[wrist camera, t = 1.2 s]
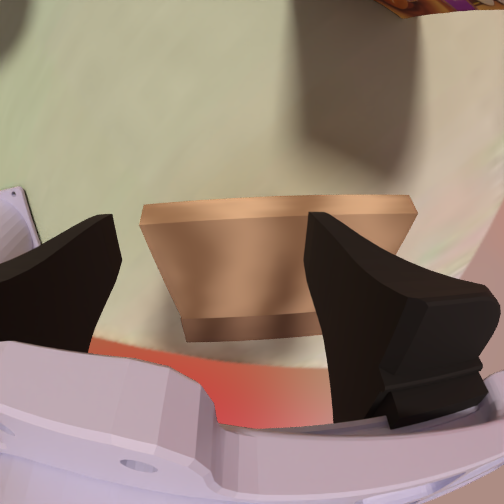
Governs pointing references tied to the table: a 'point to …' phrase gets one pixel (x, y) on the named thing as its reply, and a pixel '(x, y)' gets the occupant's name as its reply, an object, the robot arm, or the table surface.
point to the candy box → (438, 6)
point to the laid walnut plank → (251, 327)
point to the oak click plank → (256, 248)
